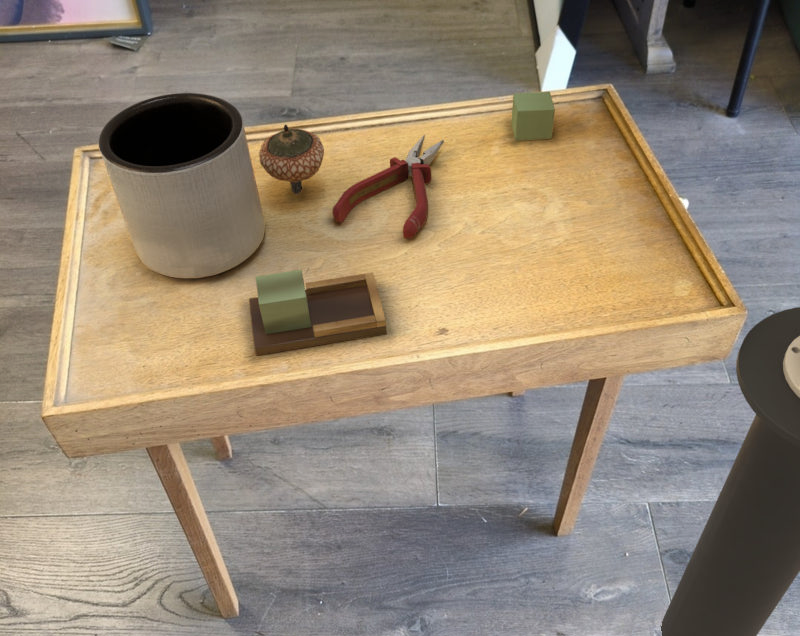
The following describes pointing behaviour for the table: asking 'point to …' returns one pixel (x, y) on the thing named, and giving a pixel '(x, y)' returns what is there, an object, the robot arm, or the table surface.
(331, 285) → the brown wooden rectangular tray
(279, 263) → the table surface
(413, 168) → the pliers
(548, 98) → the block
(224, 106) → the planter
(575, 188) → the table surface
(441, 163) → the table surface
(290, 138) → the acorn
